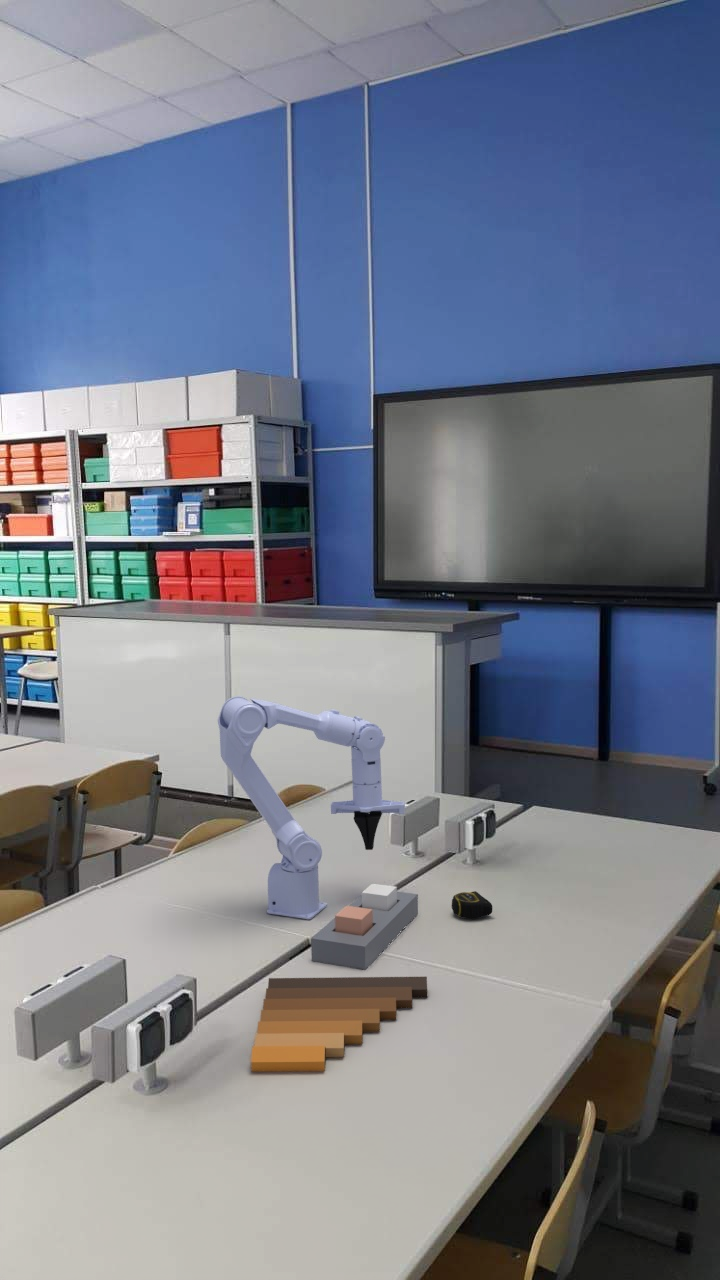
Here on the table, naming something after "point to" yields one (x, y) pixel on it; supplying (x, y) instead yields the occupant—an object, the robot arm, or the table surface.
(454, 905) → the tape measure
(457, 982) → the table surface
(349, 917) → the terracotta key
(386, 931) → the key panel
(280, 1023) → the pan flute
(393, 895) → the white key
